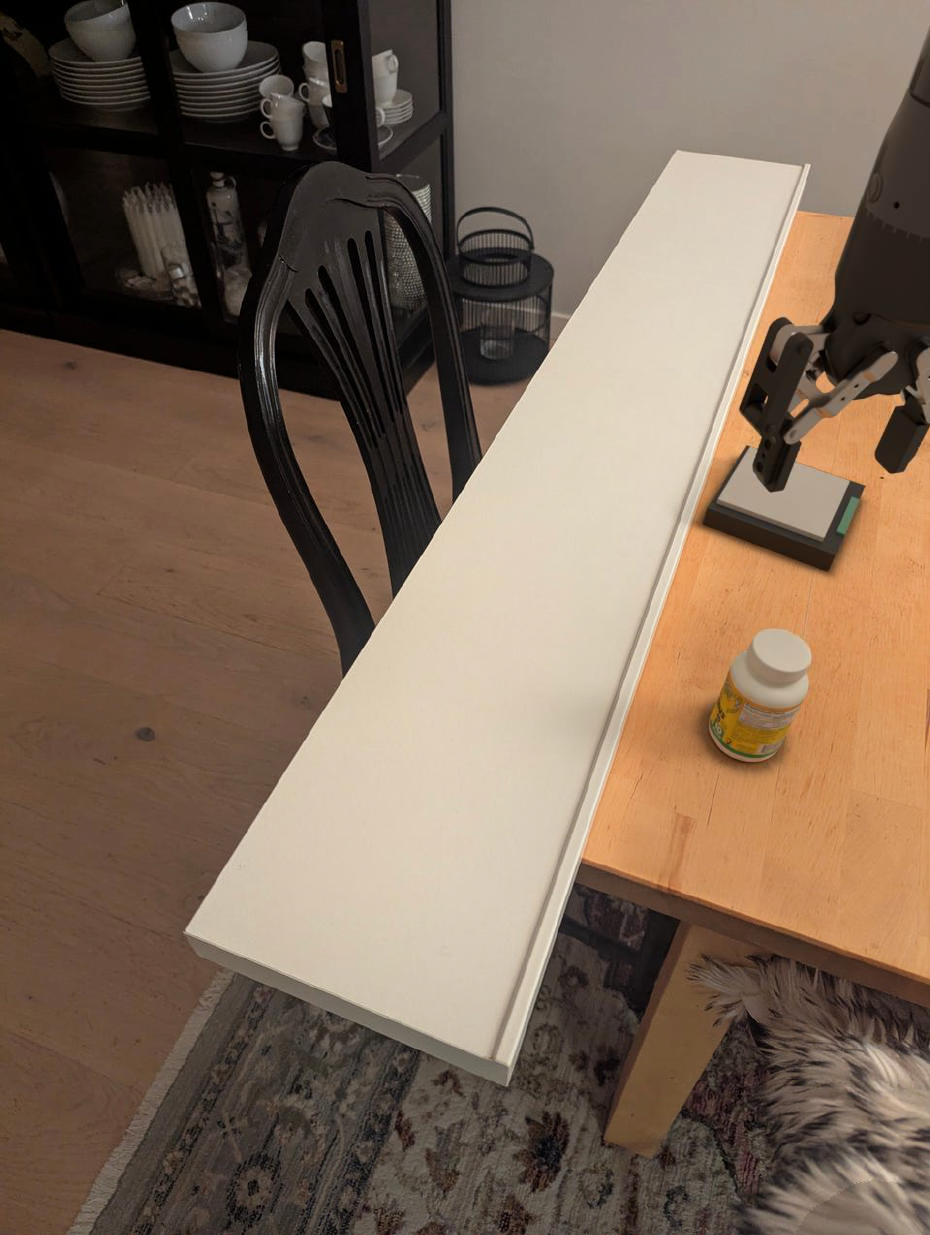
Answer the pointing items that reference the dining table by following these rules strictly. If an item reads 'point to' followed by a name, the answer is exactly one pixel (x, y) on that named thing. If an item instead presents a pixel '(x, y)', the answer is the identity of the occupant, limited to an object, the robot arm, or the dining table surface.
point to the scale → (786, 511)
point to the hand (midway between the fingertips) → (828, 474)
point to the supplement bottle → (761, 696)
